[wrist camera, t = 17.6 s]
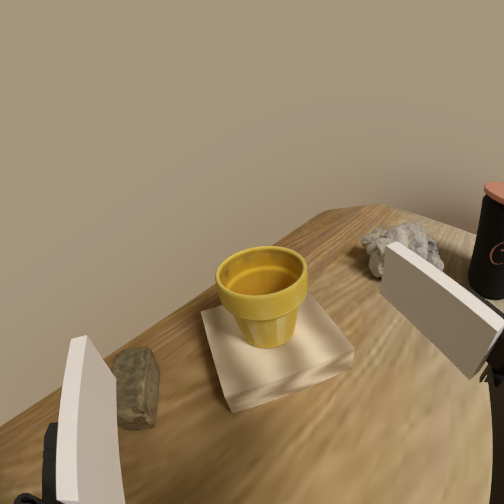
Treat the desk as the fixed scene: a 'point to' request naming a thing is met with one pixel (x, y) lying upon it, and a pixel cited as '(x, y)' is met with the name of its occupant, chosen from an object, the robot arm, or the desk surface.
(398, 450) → the desk surface
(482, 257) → the coffee jar
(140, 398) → the stone block
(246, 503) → the desk surface
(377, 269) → the mineral
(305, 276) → the plant pot
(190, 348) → the desk surface
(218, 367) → the birch block
